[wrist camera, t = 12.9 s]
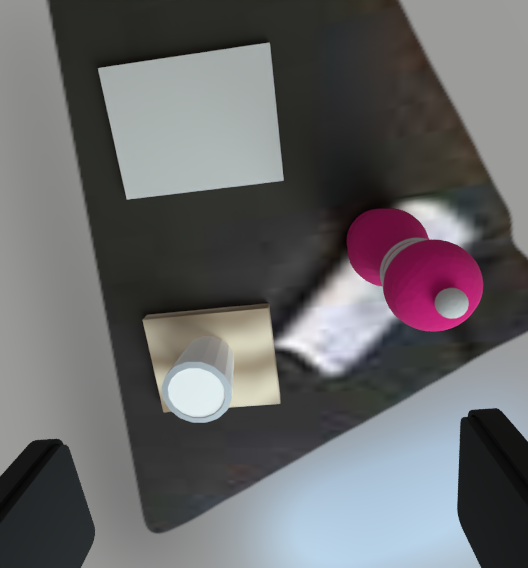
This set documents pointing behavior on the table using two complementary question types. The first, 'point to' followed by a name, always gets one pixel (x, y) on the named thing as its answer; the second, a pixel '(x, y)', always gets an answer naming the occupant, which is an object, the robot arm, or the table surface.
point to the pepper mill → (414, 269)
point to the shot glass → (200, 381)
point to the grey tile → (194, 121)
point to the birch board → (232, 330)
